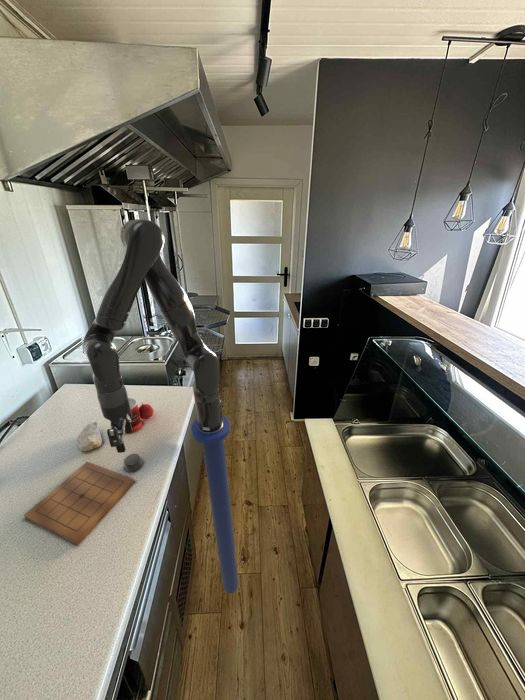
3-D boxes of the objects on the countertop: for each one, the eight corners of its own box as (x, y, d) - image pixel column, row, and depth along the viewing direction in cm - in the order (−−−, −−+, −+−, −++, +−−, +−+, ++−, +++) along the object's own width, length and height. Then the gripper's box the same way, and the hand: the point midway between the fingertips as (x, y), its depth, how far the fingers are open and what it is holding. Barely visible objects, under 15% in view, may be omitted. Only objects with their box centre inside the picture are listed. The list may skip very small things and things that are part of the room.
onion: (157, 415, 119) (153, 399, 115) (150, 424, 114) (146, 408, 110) (144, 413, 120) (140, 398, 116) (136, 422, 114) (132, 406, 111)
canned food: (127, 419, 117) (121, 397, 112) (146, 420, 116) (140, 398, 111) (117, 432, 110) (109, 409, 105) (136, 433, 109) (130, 410, 104)
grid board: (88, 464, 96) (86, 461, 95) (134, 482, 90) (133, 478, 89) (25, 518, 79) (23, 515, 79) (77, 545, 73) (75, 541, 72)
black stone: (133, 458, 98) (131, 451, 97) (145, 462, 97) (143, 455, 95) (122, 469, 94) (120, 462, 93) (134, 473, 92) (132, 467, 91)
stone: (80, 459, 103) (73, 449, 95) (78, 428, 109) (71, 416, 101) (104, 452, 106) (98, 442, 98) (101, 422, 112) (95, 410, 104)
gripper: (120, 413, 78) (132, 457, 85) (133, 385, 90) (143, 425, 97) (90, 416, 77) (105, 460, 84) (108, 387, 89) (119, 427, 96)
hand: (125, 441), depth 91 cm, fingers open, 8 cm apart
